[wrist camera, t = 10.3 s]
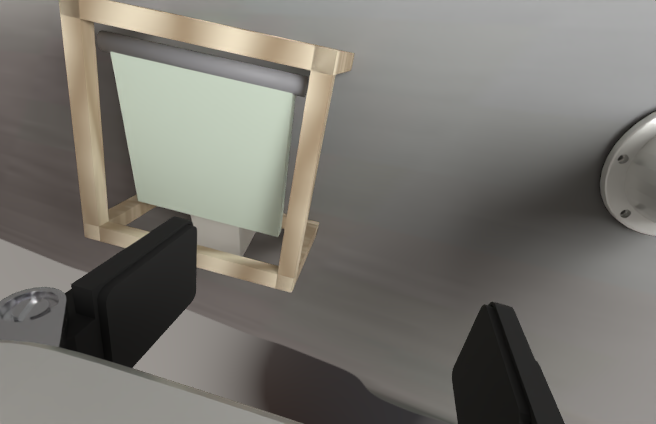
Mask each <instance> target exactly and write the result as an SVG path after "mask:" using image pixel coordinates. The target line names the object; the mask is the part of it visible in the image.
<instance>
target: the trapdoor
mask: <svg viewBox="0 0 656 424" xmlns="http://www.w3.org/2000/svg"><path fill="white" fill-rule="evenodd" d="M96 41H97V45H98V47H99V48H100V49H101V50H102V51H105V52H110V53H111V59H112V64H113V69H114V75H115V80H116V85H117V91H118V96H119V101H120V107H121V112H122V117H123V123H124V128H125V133H126V139H127V144H128V149H129V155H130V160H131V165H132V171H133V176H134V182H135V187H136V192H137V198H138V201H140V202H144V203H148V204H151V205H155V206H159V207H163V208H167V209H171V210H175V211H178V212H182V213H186V214H190V215H194V216H198V217H202V218H205V219H209V220H213V221H217V222H221V223H225V224H229V225H233V226H236V227H240V228H244V229H248V230H252V231H256V232H260V233H263V234H267V235H271V236H275V237H278V236H279V234H280V232H281V227H282V218H283V209H284V200H285V190H286V181H287V172H288V163H289V153H290V144H291V135H292V125H293V116H294V107H295V98H296V95H297V96H302V97H305V96H306V93H307V89H308V83H309V78H308V77H307V76H303V75H298V74H294V73H289V72H285V71H280V70H276V69H271V68H267V67H263V66H258V65H254V64H249V63H245V62H240V61H236V60H231V59H227V58H223V57H218V56H214V55H209V54H205V53H200V52H196V51H192V50H187V49H183V48H178V47H174V46H169V45H165V44H160V43H156V42H152V41H147V40H143V39H138V38H134V37H129V36H125V35H120V34H116V33H112V32H107V31H100V32H99V33H98V34H97V38H96Z"/></svg>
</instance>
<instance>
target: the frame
mask: <svg viewBox="0 0 656 424" xmlns="http://www.w3.org/2000/svg"><path fill="white" fill-rule="evenodd" d="M59 7H60V16H61V25H62V34H63V44H64V53H65V62H66V71H67V80H68V89H69V98H70V107H71V116H72V125H73V134H74V143H75V152H76V161H77V170H78V179H79V188H80V197H81V206H82V215H83V224H84V233H85V237H86V238H90V239H94V240H97V241H101V242H105V243H108V244H112V245H116V246H120V247H123V248H127V247H128V246H130V245H131V244H133V243H134V242H136V241H137V240H139V239H140V238H142V237H143V236H145V235H146V234H148V233H150V232H148V231H144V230H140V229H136V228H132V227H129V226H125V225H127V224H129V223H130V222H132V221H133V220H135V219H137V218H138V217H140V216H141V215H143V214H145V213H146V212H148V211H149V210H151V209H153V208H154V207H156V206H155V205H151V204H148V203H144V202H140V201H138V198H137V194H136V195H135V196H133V197H131V198H129V199H127V200H125V201H123V202H121V203H120V204H118V205H116V206H114V207H112V208H110V209H108V205H107V192H106V179H105V166H104V152H103V139H102V126H101V113H100V100H99V87H98V73H97V60H96V47H95V34H94V22H97V23H101V24H106V25H110V26H115V27H119V28H123V29H128V30H132V31H137V32H141V33H146V34H150V35H155V36H159V37H164V38H168V39H173V40H177V41H182V42H186V43H190V44H195V45H199V46H204V47H208V48H213V49H217V50H222V51H226V52H231V53H235V54H240V55H244V56H249V57H253V58H258V59H262V60H266V61H271V62H275V63H280V64H284V65H289V66H293V67H298V68H302V69H307V70H311V72H310V78H309V85H308V91H307V97H306V103H305V109H304V115H303V121H302V127H301V133H300V139H299V145H298V152H297V158H296V164H295V170H294V176H293V182H292V188H291V194H290V200H289V206H288V212H287V214H284V213H283V218H282V227H281V228H283V229H285V231H284V237H283V243H282V249H281V255H280V261H279V266H276V265H272V264H269V263H265V262H261V261H257V260H253V259H250V258H246V257H242V256H238V255H235V254H231V253H227V252H223V251H219V250H216V249H212V248H208V247H204V246H200V245H197V265H196V267H198V268H201V269H205V270H209V271H212V272H216V273H220V274H224V275H227V276H231V277H235V278H238V279H242V280H246V281H250V282H253V283H257V284H261V285H264V286H268V287H272V288H276V289H279V290H283V291H287V292H290V293H292V291H293V288H294V286H295V284H296V281H297V279H298V277H299V274H300V272H301V270H302V267H303V265H304V263H305V260H306V258H307V255H308V253H309V251H310V248H311V246H312V244H313V241H314V239H315V237H316V234H317V230H318V226H319V222H316V221H312V220H308V215H309V210H310V204H311V199H312V194H313V189H314V184H315V178H316V173H317V168H318V163H319V158H320V152H321V147H322V142H323V137H324V132H325V127H326V121H327V116H328V111H329V106H330V101H331V95H332V90H333V85H334V80H335V75H336V74H340V73H343V72H347V71H351V68H352V63H353V58H354V54H355V53H350V52H345V51H341V50H336V49H332V48H327V47H323V46H318V45H313V44H309V43H304V42H300V41H295V40H290V39H286V38H281V37H277V36H272V35H268V34H263V33H258V32H254V31H249V30H245V29H240V28H236V27H231V26H226V25H222V24H217V23H213V22H208V21H204V20H199V19H194V18H190V17H185V16H181V15H176V14H172V13H167V12H162V11H158V10H153V9H148V8H143V7H139V6H134V5H129V4H124V3H120V2H115V1H110V0H59Z"/></svg>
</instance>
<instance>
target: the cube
mask: <svg viewBox="0 0 656 424" xmlns="http://www.w3.org/2000/svg"><path fill="white" fill-rule="evenodd" d="M191 219H192V222H193V226H195V227H196V228H197V245H200V246H204V247H208V248H212V249H216V250H219V251H223V252H227V253H231V254H235V255H238V256H242V257H243V255H244V253H245V251H246V250H247V248H248V246H249V244H250V242H251V240H252V238H253V236H254V234H255V232H256V231H252V230H248V229H244V228H240V227H236V226H233V225H229V224H225V223H221V222H217V221H213V220H209V219H205V218H202V217H198V216H194V215H191Z"/></svg>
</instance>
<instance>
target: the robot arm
mask: <svg viewBox="0 0 656 424" xmlns="http://www.w3.org/2000/svg"><path fill="white" fill-rule="evenodd" d="M619 156H620V157H619ZM600 189H601V196H602V199H603V202H604V205H605V206H606V208H607V209H608V211H609V212H610V214H611V215H612V216H614V217H615V218H616V219H617V220H618V221H619V222H621V223H622V224H624V225H625V226H626V227H628V228H630V229H632V230H634V231H637V232H639V233H643V234H647V235H651V236H656V112H654V113H651V114H650V115H648V116H647V117H645V118H644V119H642V120H641V121H639V122H638V123H636V124H635V125H634V126H633V127H632V128H630V129H629V130H628V131H627V132H626V133H625V134H624V135H623V136H622V137H621V138H620V139H619V141H618V142H617V143H616V144H615V145H614V147H613V148H612V150H611V152H610V153H609V155H608V157H607V159H606V161H605V164H604V166H603V169H602V173H601V180H600ZM196 265H197V228H196V227H195V226H193V222H192V221H190V220H186V219H182V218H178V217H172V218H171V219H169V220H168V221H166V222H165V223H163V224H162V225H160V226H159V227H157V228H156V229H154V230H153V231H151V232H150V233H148V234H146V235H145V236H143V237H142V238H140V239H139V240H137V241H136V242H134V243H133V244H131V245H130V246H128V247H127V248H125V249H124V250H122V251H121V252H119V253H118V254H116V255H115V256H113V257H112V258H110V259H109V260H107V261H106V262H104V263H103V264H101V265H100V266H98V267H97V268H95V269H94V270H92V271H91V272H89V273H88V274H86V275H85V276H83V277H82V278H80V279H78V280H77V281H75V282H74V283H73V284H72V285H71V287H72V289H71V290H69V291H68V292H66V293H65V294H64V293H63V292H62V291H61V290H58V289H55V288H50V287H39V288H32V289H26V290H23V291H20V292H17V293H14V294H12V295H10V296H8V297H6V298H4V299H3V300H1V301H0V424H303V423H300V422H297V421H294V420H290V419H287V418H284V417H281V416H278V415H275V414H272V413H269V412H266V411H263V410H260V409H257V408H254V407H251V406H248V405H245V404H242V403H238V402H235V401H233V400H229V399H226V398H223V397H220V396H217V395H214V394H211V393H208V392H205V391H202V390H199V389H195V388H192V387H189V386H186V385H183V384H180V383H177V382H174V381H171V380H167V379H164V378H161V377H158V376H155V375H152V374H149V373H145V372H142V371H139V370H136V369H133V366H134V365H135V364H136V363H137V362H138V361H139V360H140V359H141V358H142V356H143V355H144V354H145V353H146V352H147V351H148V350H149V348H151V346H152V345H153V344H154V343H155V342H156V341H157V340H158V339H159V337H160V336H161V335H162V334H163V333H164V332H165V331H166V330H167V329H168V328H169V326H170V325H171V324H172V323H173V322H174V321H175V320H176V319H177V318H178V316H179V315H180V314H181V313H182V312H183V311H184V310H185V309H186V308H187V307H188V305H189V304H190V303H191V302H192V301H193V299H194V297H195V293H196ZM452 383H453V390H454V397H455V405H456V412H457V419H458V424H565V423H564V421H563V419H562V416H561V414H560V412H559V409H558V407H557V405H556V402H555V400H554V398H553V396H552V393H551V391H550V389H549V386H548V384H547V382H546V379H545V377H544V375H543V372H542V370H541V368H540V366H539V364H538V362H537V361H535V359H534V356H533V354H532V352H531V349H530V347H529V344H528V342H527V340H526V337H525V335H524V333H523V330H522V328H521V326H520V323H519V321H518V318H517V316H516V314H515V311H514V309H513V308H512V307H510V306H506V305H502V304H498V303H495V302H491V303H490V304H489V305H488V306H487V305H483V306H482V307H481V309H480V311H479V313H478V315H477V318H476V320H475V322H474V324H473V326H472V329H471V331H470V333H469V335H468V337H467V339H466V342H465V344H464V346H463V348H462V350H461V352H460V355H459V357H458V359H457V361H456V363H455V365H454V368H453V372H452Z"/></svg>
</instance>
